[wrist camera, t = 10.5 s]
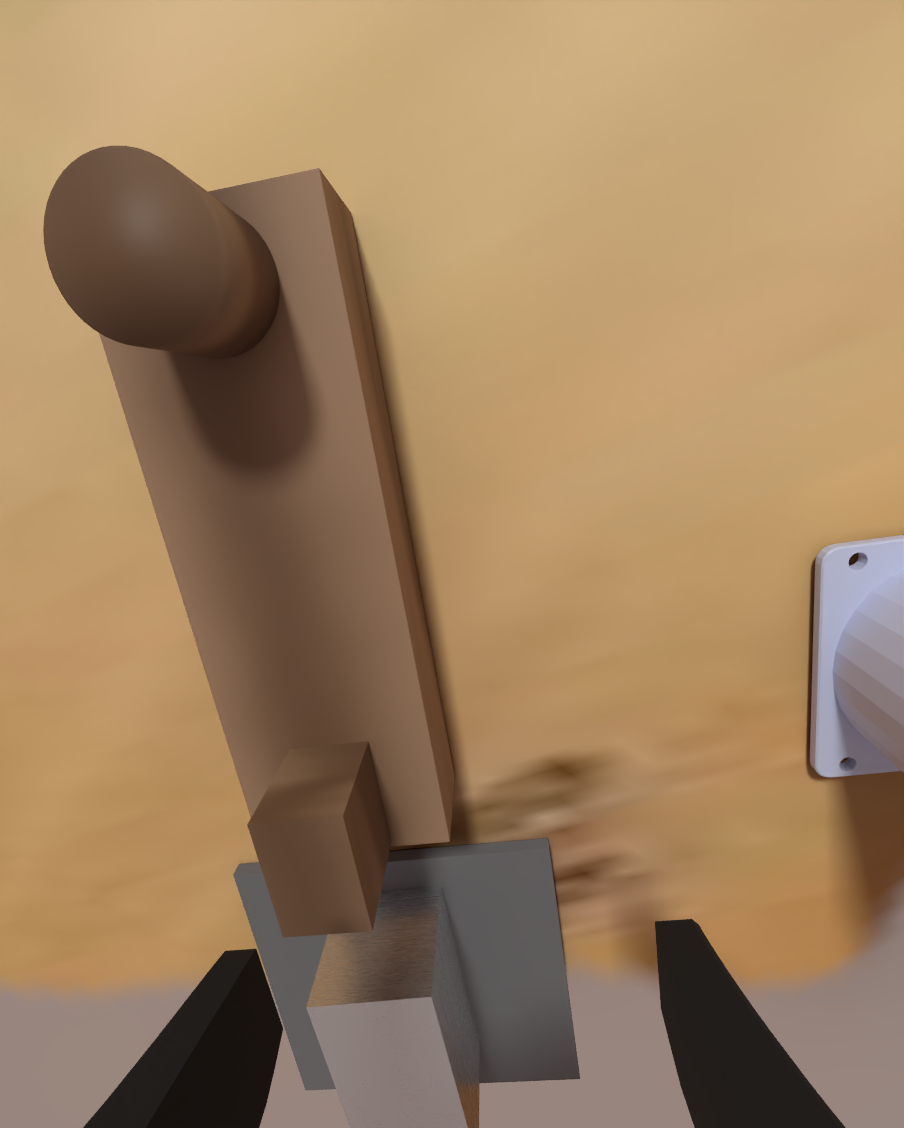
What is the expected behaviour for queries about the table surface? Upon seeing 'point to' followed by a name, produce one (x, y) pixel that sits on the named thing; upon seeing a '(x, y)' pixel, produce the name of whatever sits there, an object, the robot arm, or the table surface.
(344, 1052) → the lever cap
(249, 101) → the table surface
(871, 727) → the robot arm
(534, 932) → the mat
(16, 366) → the table surface
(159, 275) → the plane body
